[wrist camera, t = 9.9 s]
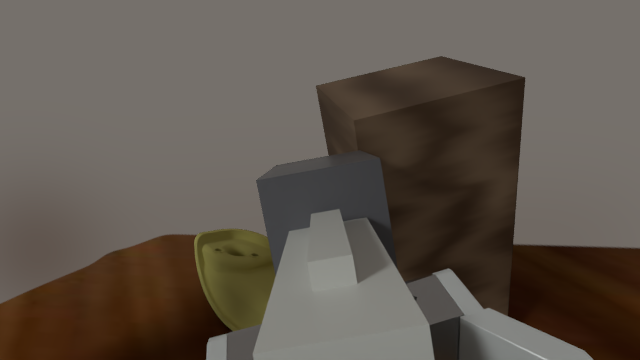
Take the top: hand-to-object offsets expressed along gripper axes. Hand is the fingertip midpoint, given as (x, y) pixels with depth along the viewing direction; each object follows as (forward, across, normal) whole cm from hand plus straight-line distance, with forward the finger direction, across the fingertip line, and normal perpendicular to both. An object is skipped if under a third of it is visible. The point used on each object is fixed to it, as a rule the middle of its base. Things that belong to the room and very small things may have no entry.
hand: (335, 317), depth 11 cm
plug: (+4, -1, +4) cm, 6 cm away
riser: (+19, -11, +26) cm, 34 cm away
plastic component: (+30, +5, +27) cm, 41 cm away
